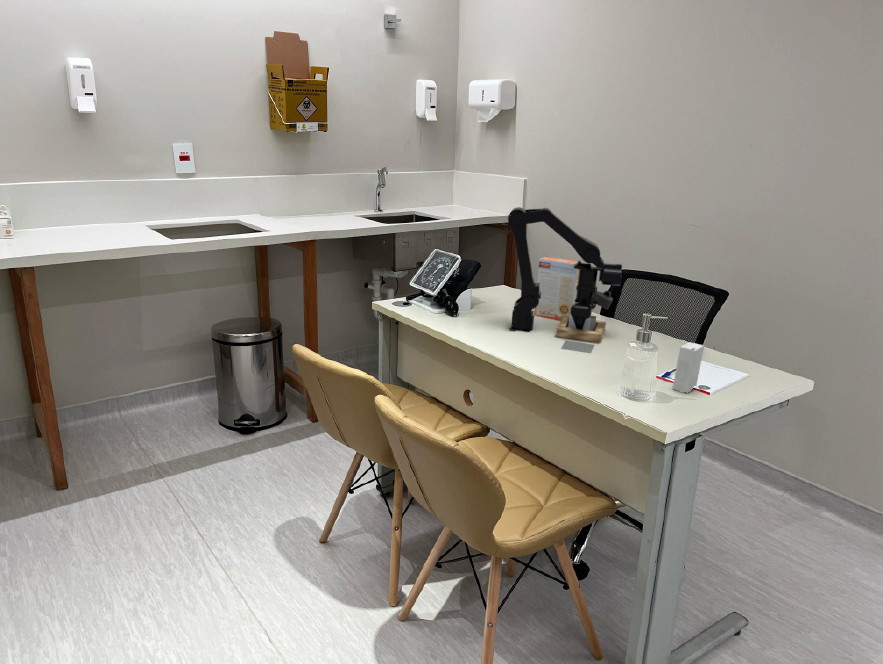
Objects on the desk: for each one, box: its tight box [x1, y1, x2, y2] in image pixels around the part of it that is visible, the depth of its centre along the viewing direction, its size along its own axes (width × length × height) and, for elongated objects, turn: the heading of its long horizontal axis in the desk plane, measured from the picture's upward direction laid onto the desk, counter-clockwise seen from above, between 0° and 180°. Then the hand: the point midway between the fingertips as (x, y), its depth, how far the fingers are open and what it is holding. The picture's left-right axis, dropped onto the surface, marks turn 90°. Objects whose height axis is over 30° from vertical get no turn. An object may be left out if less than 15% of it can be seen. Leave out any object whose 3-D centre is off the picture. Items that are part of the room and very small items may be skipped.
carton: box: [555, 316, 607, 344], centre depth 223 cm, size 14×16×4 cm
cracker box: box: [533, 256, 584, 322], centre depth 239 cm, size 14×6×21 cm, turn 58°
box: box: [568, 315, 597, 331], centre depth 223 cm, size 8×4×6 cm, turn 71°
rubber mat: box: [560, 340, 595, 354], centre depth 211 cm, size 9×9×1 cm
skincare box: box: [672, 342, 705, 394], centre depth 180 cm, size 6×4×12 cm
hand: (581, 330), depth 223 cm, fingers closed on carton, 9 cm apart
